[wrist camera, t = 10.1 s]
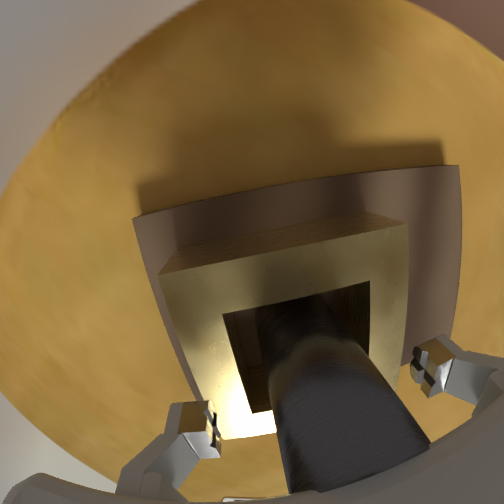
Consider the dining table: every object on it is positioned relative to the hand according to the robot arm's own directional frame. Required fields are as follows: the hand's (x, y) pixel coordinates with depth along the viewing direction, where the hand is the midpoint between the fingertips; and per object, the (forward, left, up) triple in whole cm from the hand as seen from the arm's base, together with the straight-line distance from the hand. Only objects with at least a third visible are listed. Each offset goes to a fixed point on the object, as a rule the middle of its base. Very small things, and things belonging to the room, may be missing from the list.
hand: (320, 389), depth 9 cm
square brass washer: (0, 0, -6) cm, 6 cm away
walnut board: (-3, 0, -8) cm, 8 cm away
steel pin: (0, 0, -6) cm, 6 cm away
